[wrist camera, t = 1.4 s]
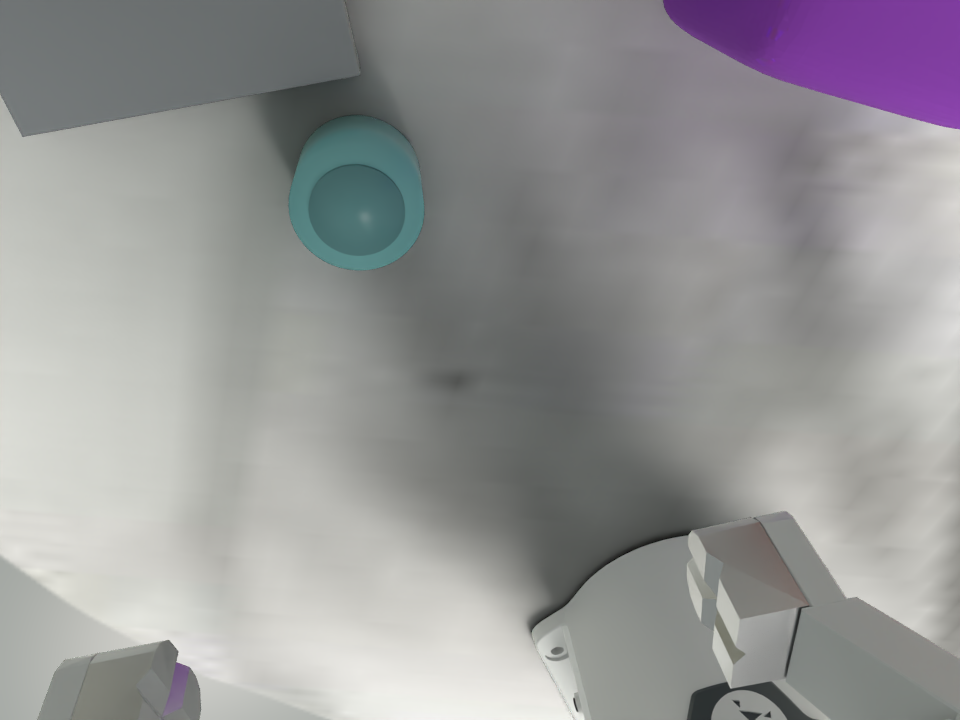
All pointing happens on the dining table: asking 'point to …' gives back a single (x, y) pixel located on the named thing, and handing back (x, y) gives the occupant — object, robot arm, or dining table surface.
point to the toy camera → (843, 48)
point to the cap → (357, 194)
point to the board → (161, 55)
